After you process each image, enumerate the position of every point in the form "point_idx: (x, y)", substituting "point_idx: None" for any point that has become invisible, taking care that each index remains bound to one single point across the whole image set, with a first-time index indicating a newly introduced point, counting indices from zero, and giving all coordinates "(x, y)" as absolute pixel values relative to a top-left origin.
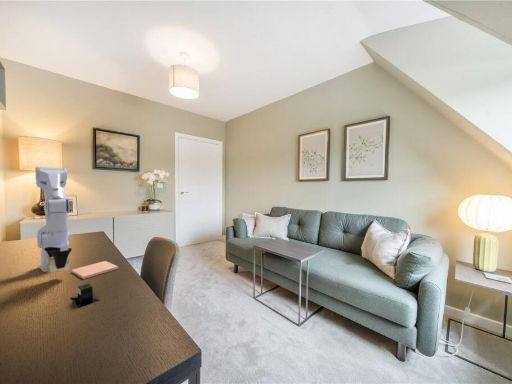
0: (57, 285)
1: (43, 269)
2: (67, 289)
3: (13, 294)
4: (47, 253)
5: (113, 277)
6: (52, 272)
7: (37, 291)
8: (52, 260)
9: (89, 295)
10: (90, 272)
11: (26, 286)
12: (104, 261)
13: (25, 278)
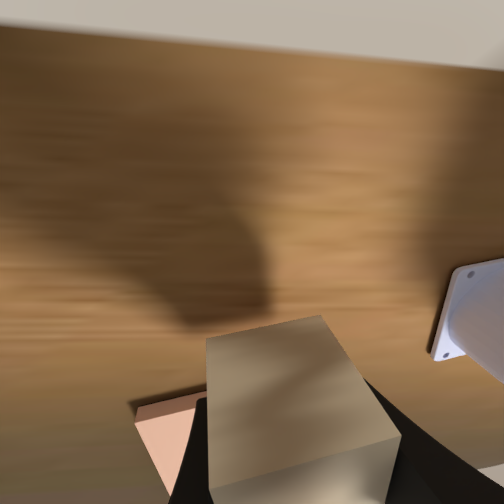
0: (139, 315)
1: (493, 267)
2: (9, 354)
3: (170, 97)
4: (496, 486)
5: (55, 494)
6: (207, 352)
7: (108, 227)
8: (210, 491)
9: None
10: (185, 442)
11: (281, 178)
12: None
13: (451, 182)
